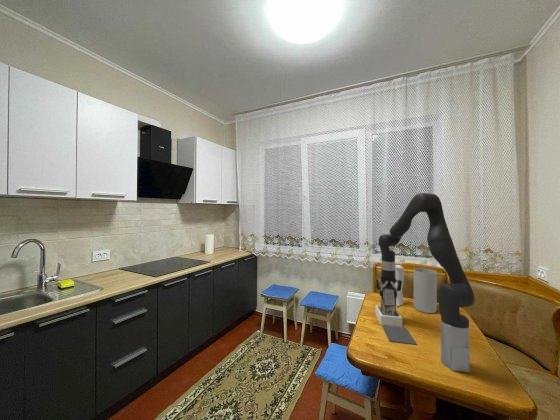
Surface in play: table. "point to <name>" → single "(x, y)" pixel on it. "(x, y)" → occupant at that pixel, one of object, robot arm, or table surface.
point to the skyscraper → (401, 277)
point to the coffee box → (388, 301)
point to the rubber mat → (399, 335)
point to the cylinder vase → (425, 290)
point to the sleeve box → (388, 318)
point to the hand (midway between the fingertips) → (388, 297)
